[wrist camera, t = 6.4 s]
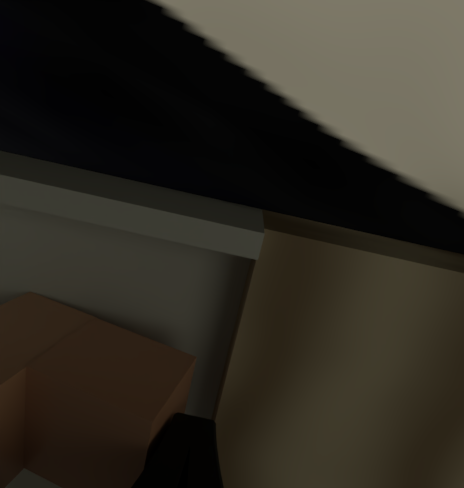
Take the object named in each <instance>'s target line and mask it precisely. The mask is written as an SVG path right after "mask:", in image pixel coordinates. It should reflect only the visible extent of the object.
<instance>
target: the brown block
mask: <svg viewBox="0 0 464 488" xmlns="http://www.w3.org/2000/svg"><path fill="white" fill-rule="evenodd" d="M94 318H97V317H94V316H92V315H89V314H87V313H84V312H82V311H79V310H77V309H74V308H71V307H69V306H66V305H64V304H61V303H59V302H56V301H53V300H51V299H48V298H46V297H43V296H41V295H38V294H35V293H33V292H28V293H26V294H24V295H21V296H19V297H17V298H15V299H13V300H11V301H9V302H6V303H4V304H2V305H0V488H5V487H6V486H7V485H8V484H9V483H10V482H11V481H12V480H13V479H14V478H15V477H16V476H17V475H18V474H19V473H20V472H21V471H22V470H23V469H24V431H25V392H26V366H27V365H28V364H30V363H31V362H32V361H34V360H35V359H37V358H38V357H40V356H41V355H42V354H44V353H45V352H47V351H48V350H50V349H51V348H52V347H54V346H55V345H57V344H58V343H60V342H61V341H63V340H64V339H65V338H67V337H68V336H70V335H71V334H73V333H74V332H75V331H77V330H78V329H80V328H81V327H83V326H84V325H85V324H87V323H88V322H90V321H91V320H93V319H94Z"/></svg>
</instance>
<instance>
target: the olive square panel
mask: <svg viewBox="0 0 464 488" xmlns="http://www.w3.org/2000/svg"><path fill="white" fill-rule="evenodd" d="M262 213H263V222H264V231H265V235H264V239H263V242H262V246H261V250H260V254H259V258H258V260H255V259H251V261H250V265H249V269H248V273H247V277H246V281H245V285H244V289H243V293H242V297H241V301H240V305H239V309H238V313H237V317H236V321H235V325H234V329H233V333H232V337H231V341H230V345H229V349H228V353H227V357H226V361H225V365H224V369H223V373H222V377H221V381H220V385H219V389H218V393H217V397H216V401H215V405H214V409H213V413H212V417H211V420H214V421H215V423H216V439H217V449H218V457H219V464H220V470H221V476H222V481H223V486H224V488H464V255H463V254H458V253H454V252H450V251H445V250H441V249H436V248H432V247H427V246H423V245H418V244H414V243H409V242H405V241H400V240H396V239H392V238H387V237H383V236H378V235H374V234H369V233H365V232H360V231H356V230H351V229H347V228H343V227H338V226H334V225H329V224H325V223H320V222H316V221H311V220H307V219H302V218H298V217H294V216H289V215H285V214H280V213H276V212H271V211H267V210H262Z"/></svg>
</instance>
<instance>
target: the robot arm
mask: <svg viewBox="0 0 464 488" xmlns="http://www.w3.org/2000/svg"><path fill="white" fill-rule="evenodd" d="M131 488H224V486H223V481H222V476H221V470H220V464H219V457H218V449H217V439H216V423H215V421H214V420H211V419H206V418H202V417H197V416H193V415H188V414H183V413H179V412H178V413H176V414H174V416H173V418H172V421H171V423H170V425H169V428H168V430H167V432H166V434H165V435H164V437H163V439H162V441H161V443H160V444H159V446H158V448H157V450H156V451H155V453H154V454H153V456H152V457H151V459H150V461H149V462H148V464H147V465H146V467H145V468H144V470H143V471H142V473H141V474H140V476H139V477H138V479H137V480H136V481H135V483H134V484H133V486H132V487H131Z"/></svg>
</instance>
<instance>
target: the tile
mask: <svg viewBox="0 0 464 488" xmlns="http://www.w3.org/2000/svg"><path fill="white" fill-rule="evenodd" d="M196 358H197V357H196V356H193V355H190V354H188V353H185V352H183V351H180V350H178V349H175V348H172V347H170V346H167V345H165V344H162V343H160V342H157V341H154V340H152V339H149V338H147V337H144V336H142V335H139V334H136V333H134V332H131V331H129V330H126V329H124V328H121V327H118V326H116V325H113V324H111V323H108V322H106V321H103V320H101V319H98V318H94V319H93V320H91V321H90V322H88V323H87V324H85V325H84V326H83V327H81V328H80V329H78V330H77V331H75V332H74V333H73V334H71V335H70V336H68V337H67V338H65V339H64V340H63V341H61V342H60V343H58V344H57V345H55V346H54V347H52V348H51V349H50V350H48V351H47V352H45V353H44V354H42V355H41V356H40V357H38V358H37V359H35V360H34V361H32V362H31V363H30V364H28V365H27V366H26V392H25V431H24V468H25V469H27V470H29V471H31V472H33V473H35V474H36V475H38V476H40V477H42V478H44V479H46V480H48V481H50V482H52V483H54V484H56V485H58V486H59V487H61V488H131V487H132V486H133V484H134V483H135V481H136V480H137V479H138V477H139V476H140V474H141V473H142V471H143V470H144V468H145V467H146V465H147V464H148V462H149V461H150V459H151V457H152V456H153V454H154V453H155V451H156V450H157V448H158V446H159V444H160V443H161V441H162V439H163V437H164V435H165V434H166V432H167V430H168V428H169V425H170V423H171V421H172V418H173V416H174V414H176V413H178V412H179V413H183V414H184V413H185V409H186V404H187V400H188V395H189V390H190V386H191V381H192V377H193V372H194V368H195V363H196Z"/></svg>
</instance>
